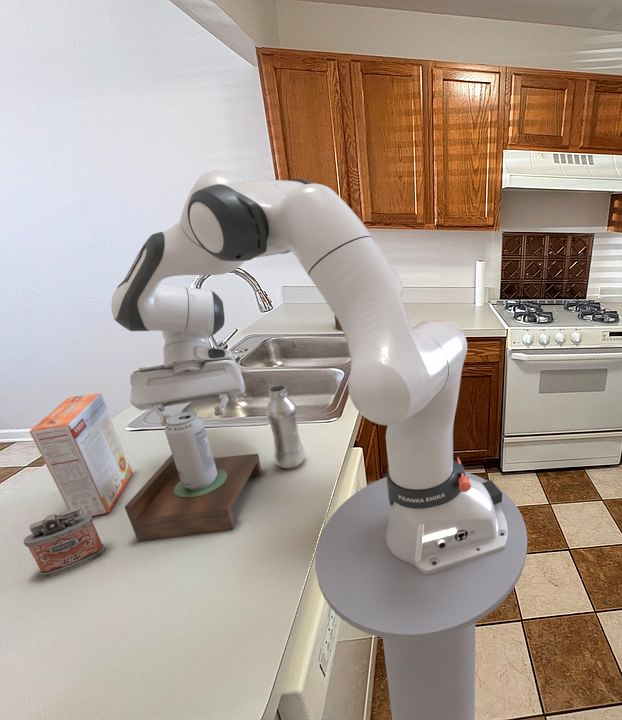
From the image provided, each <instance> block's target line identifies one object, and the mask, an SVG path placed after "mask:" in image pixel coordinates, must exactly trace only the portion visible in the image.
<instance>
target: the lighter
mask: <svg viewBox="0 0 622 720" xmlns="http://www.w3.org/2000/svg"><path fill="white" fill-rule="evenodd" d="M82 515H83V511H82V508H79V507H78V508H75V509H72V510H69V509H68V510H66V511H64V512H61V513H59V514H56V513H51V514H49V515H47V516H45V518H44V519H42V520H39V521H36V522H33V523H31V524H29V525H28V529H29V530H30V534H28V535H27V536H25V538H24V539H23V545H24V546H25V547H26V548H28V550H29V551H30V552H29V553H31V556H32V558H33V559H34V561H35V562H36V565H37V566H38V568H39V574H40V575H41V577H42V578H50V577H53V576H56V575H60V574H63V573H65V572H68V571H71V570H73V569H76V568H78V567H80V566H83V565H85V564H88V563H89V562H91V561H94V560H95V559H97V558H100V557H101V556H103V554H105V552H106V551H107V548H106V546H105V544H104V543H102V540H101V538H100V536H99V534H98V532H97V529H96V526H95V525H94V519H93V517H92V516H91V515H83V516H82Z"/></svg>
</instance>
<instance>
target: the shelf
mask: <svg viewBox="0 0 622 720" xmlns="http://www.w3.org/2000/svg"><path fill="white" fill-rule="evenodd" d="M213 458H214V462H215V466H216V469H217V476H216V477H215V480H214V482H213V483H212V484H210V485H209V486H207V487H205V488H202V489H198V490H190V489H188V488H186V487H184V486H183V485H182V483H181V480H180V477H179V474H178V470H177V467H176V464H175V461H174V458H173V455H172V454H171V455H170V456H169V457H168V458H167V459H166V460H165V461H164V463H163V464H162V465H161V466H160V467H159V468H158V469H157V470H156V471H155V473H153V474H152V475H151V477H150V478H149V479H148V480H147V481H146V482H145V483H144V484H143V486H142V487H141V488H140V489H139V490H138V491H137V492H136V493H135V495H133V497H132V498H131V499H130V500H129V501H128V502H127V504H125V505H124V509H125V511H126V515H127V517H128V519H129V522H130V524H131V527H132V529H133V532H134V535H135V537H136V540H137V542H144V541H152V540H159V539H167V538H168V539H169V538H175V537H176V538H177V537H183V536H190V535H191V536H192V535H199V534H208V533H214V532H215V533H217V532H222V531H231V530H234V528H235V526H236V525H237V524H236V520H235V516H234V512H233V508H234V506H235V504H236V502H238V499H239V497H240V495H241V493H242V491H243V490H244V488H245V486H246V484H247V482H248V481H249V479H250V477H257V476H261V475H262V473H263V470H262V465H261V460H260V457H259V453H251V454H240V455H239V454H238V455H230V456H220V457H213Z"/></svg>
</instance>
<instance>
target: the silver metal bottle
mask: <svg viewBox="0 0 622 720" xmlns="http://www.w3.org/2000/svg"><path fill="white" fill-rule="evenodd" d="M267 391H268V398H269V399H270V400H269V401H268V403H267V406H266V408H265V416H266V418H267V421H268V423H269V425H270V429H271V432H272V436H273V442H274V461H275V462H276V464H277V466H279V467H280V468H282V469H293V468H295V467H298V466H299V465H301V464H302V463H303V461H304V459H305V457H306V455H305V454H306V450H305V448H304V445H303V443H302V440H301V435H300V433H299V426H298V425H299V424H298V407H297V404H296V403H295V401H294V400H292V399H291V398H290V397H288V395H289V392H288V390H287V386H286V385H283V384H278V385H276V384H275V385H273V386H270V387H269V388H268V389H267Z"/></svg>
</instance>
